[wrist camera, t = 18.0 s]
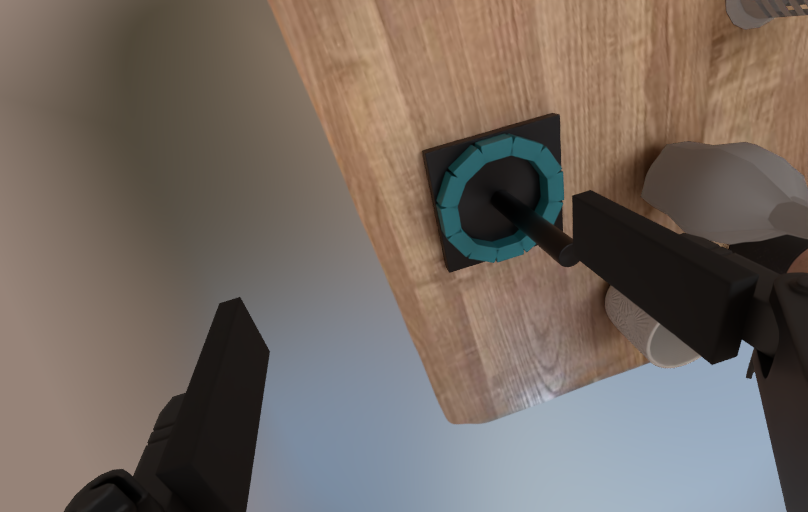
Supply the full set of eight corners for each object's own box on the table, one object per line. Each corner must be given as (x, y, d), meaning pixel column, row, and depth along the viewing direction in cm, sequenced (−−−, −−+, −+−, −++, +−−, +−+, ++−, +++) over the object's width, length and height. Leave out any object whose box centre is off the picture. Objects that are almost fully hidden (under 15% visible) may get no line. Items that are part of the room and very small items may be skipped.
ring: (449, 268, 50) (454, 276, 49) (425, 157, 43) (430, 161, 41) (557, 234, 51) (565, 240, 50) (551, 118, 44) (561, 121, 42)
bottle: (616, 139, 48) (968, 240, 22) (698, 114, 49) (1132, 183, 23) (613, 219, 54) (893, 375, 28) (687, 195, 55) (1027, 326, 29)
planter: (663, 238, 57) (732, 276, 48) (671, 297, 64) (734, 340, 54) (587, 279, 58) (640, 323, 49) (603, 333, 64) (653, 382, 55)
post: (445, 267, 52) (495, 349, 38) (421, 150, 44) (473, 198, 30) (557, 232, 53) (647, 299, 39) (552, 112, 45) (663, 141, 31)
